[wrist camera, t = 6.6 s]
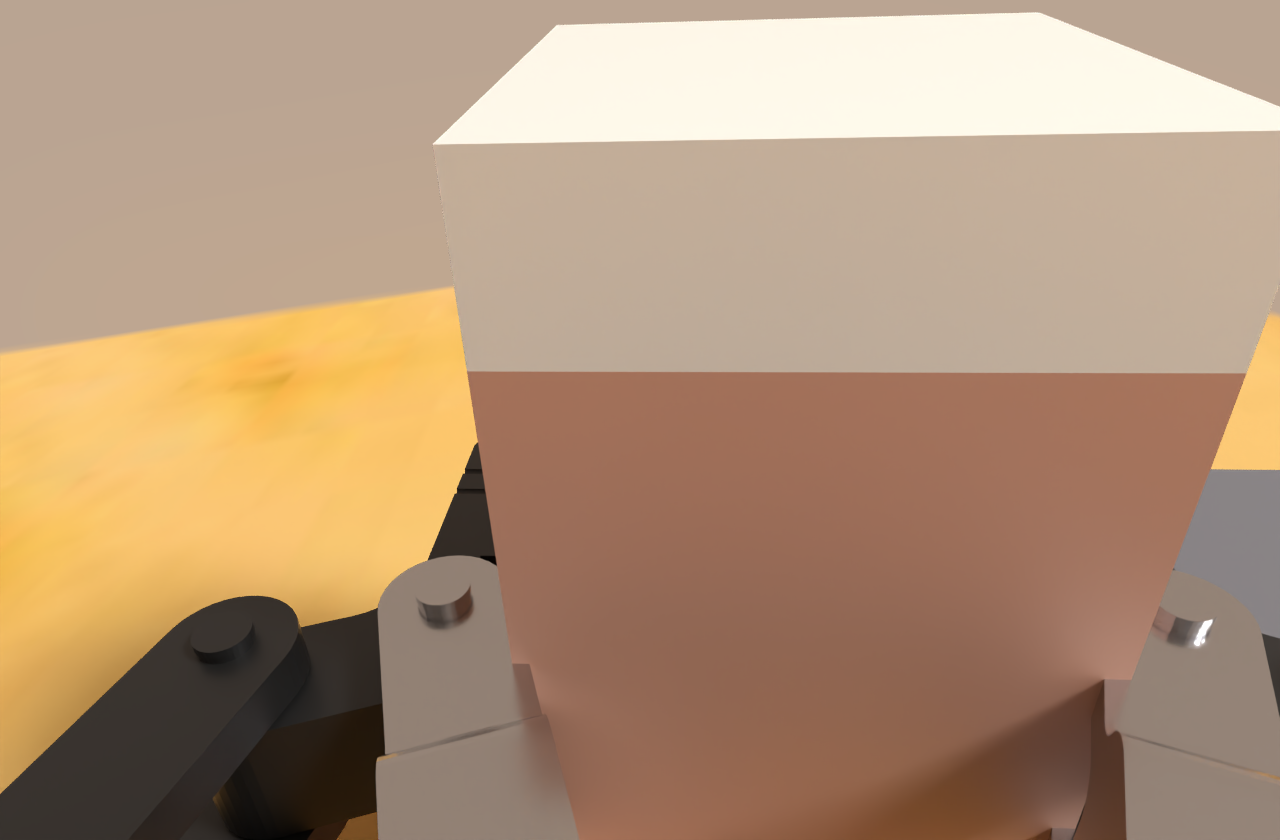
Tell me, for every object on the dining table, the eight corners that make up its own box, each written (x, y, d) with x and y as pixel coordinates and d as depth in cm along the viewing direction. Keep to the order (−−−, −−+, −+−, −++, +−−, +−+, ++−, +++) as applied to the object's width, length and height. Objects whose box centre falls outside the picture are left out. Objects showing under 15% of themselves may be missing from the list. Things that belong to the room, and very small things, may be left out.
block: (576, 1084, 11) (433, 145, 5) (611, 756, 16) (556, 25, 9) (971, 1108, 11) (1336, 129, 5) (896, 766, 15) (1039, 12, 9)
